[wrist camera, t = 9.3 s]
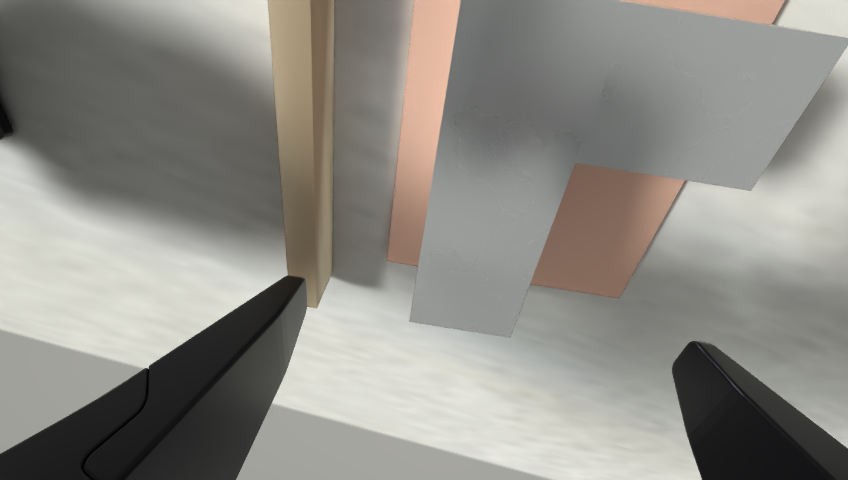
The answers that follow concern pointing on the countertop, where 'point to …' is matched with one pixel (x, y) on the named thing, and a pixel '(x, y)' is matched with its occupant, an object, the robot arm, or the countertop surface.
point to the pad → (587, 187)
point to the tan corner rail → (305, 134)
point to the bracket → (590, 127)
